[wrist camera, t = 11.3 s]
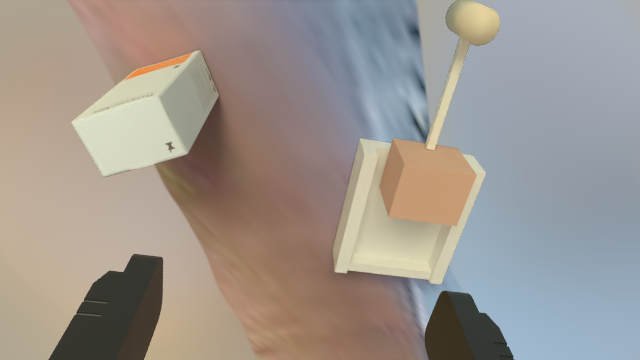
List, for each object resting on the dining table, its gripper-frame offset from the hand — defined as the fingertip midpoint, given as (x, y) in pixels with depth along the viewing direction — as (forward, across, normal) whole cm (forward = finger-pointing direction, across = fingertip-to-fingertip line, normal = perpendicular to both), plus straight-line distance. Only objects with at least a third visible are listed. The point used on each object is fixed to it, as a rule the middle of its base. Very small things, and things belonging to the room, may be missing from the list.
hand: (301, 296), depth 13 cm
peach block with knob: (+27, -12, +2) cm, 30 cm away
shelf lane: (+28, -12, +13) cm, 33 cm away
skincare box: (+28, +10, +4) cm, 30 cm away
